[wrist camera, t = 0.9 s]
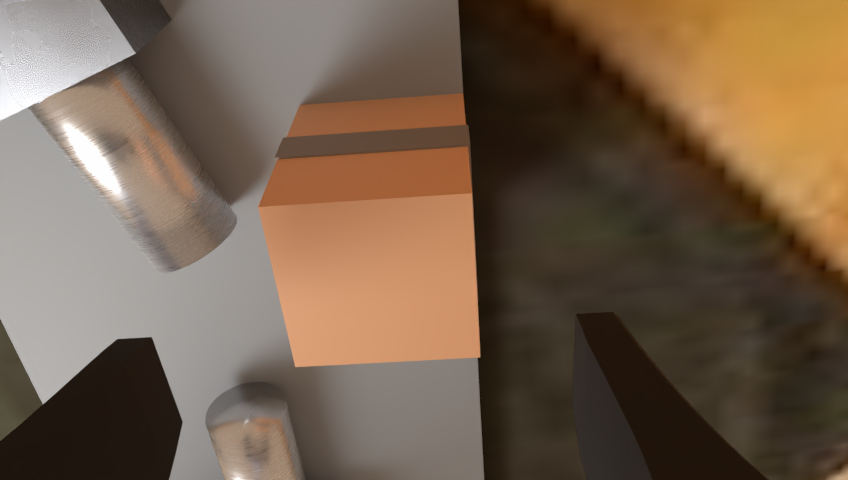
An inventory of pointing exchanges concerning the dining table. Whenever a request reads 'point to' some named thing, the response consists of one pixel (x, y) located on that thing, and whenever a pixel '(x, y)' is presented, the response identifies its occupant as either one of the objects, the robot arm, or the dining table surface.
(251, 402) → the input shaft
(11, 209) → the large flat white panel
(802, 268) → the dining table surface
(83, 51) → the output shaft
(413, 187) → the taped shipping carton
